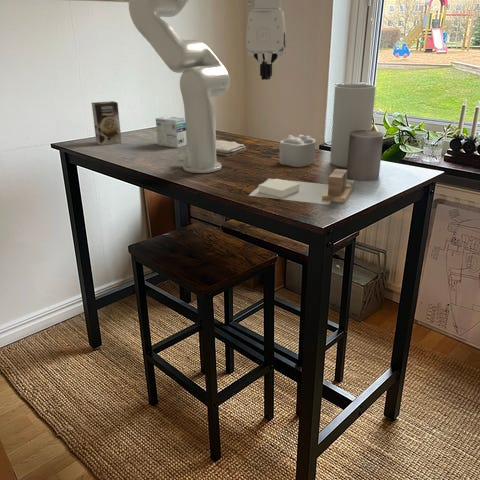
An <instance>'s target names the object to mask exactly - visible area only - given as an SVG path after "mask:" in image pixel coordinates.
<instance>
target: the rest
mask: <svg viewBox="0 0 480 480" xmlns="http://www.w3.org/2000/svg"><path fill="white" fill-rule="evenodd" d="M353 190H354V184H353V185H352V187H351V188H346V189H345V190H344V191H343V193H342V194H341V196H331V195H328V189H327V190H326V191H325V193H324V194H323V195H322V200H326V201H331V202H336V203H346V201H347V200H348V198H349V197H350V196H351V194H352V193H353Z"/></svg>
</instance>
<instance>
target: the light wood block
mask: <svg viewBox="0 0 480 480" xmlns="http://www.w3.org/2000/svg"><path fill="white" fill-rule="evenodd" d="M354 183H355V180H352V179H348V178H347V169H340V168H334V170H333V171H332V173H330V175H329V176H328V195H331V196H341V194H342V193H343V191H344V190H345V189H346V188H351V187H352V185H353V186H354Z"/></svg>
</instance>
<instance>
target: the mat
mask: <svg viewBox="0 0 480 480" xmlns="http://www.w3.org/2000/svg"><path fill="white" fill-rule="evenodd" d="M274 179H275V178H267V179H266V180H265V181H264V182H263V183H265V182H268V181H271V180H274ZM284 180H285V181H290V182H294V183H298V184H300V185H299V191H297V192H295V193H293V194H290V195H288V196H285V197H283V198H280V197H276V196H272V195H268V194H265V193H261V192H258V187H257V188H256V189H254V190H252V192H250V194H248V196H249V197H250V196H251V197H258V198H260V197H261V198H266V199H267V198H268V199H277V200H283V201H293V202H299V203H300V202H301V203H311V204H316V205H317V204H318V205H326V206H327V205H328V206H329V205H330V204H331V202H332V201H326V200H322V195H323V194H324V193H325V191H326V190H327V189H328V185H329V183H318V182H316V183H315V182H307V181H298V180H297V181H296V180H287V179H284Z"/></svg>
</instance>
